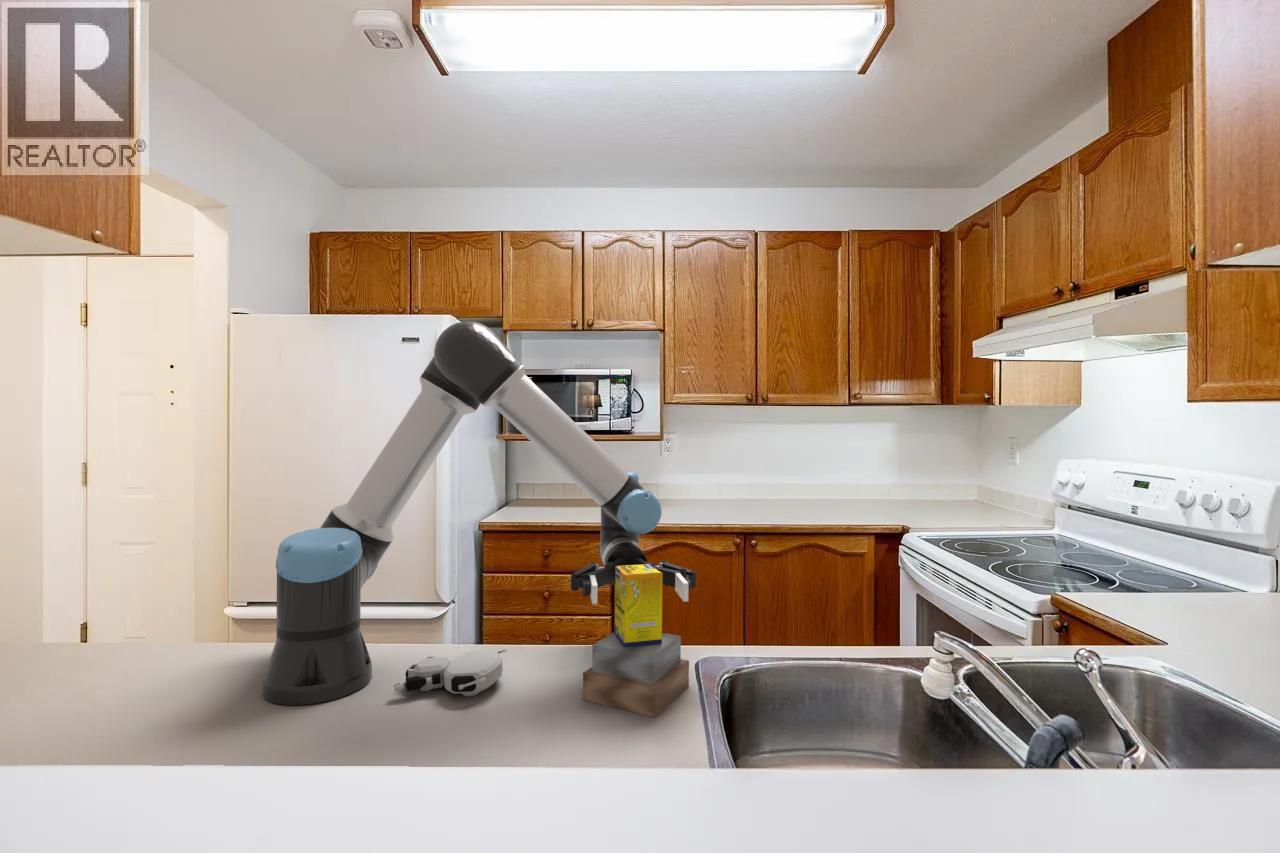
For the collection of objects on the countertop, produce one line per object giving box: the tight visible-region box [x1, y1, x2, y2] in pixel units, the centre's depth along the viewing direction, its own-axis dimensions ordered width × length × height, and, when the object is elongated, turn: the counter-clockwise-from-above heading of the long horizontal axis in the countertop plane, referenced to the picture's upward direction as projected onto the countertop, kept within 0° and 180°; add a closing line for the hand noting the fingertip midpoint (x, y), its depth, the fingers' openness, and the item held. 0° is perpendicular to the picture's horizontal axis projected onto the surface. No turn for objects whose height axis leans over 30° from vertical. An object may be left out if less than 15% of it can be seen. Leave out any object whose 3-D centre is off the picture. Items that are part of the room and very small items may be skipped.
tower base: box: [582, 631, 690, 718], centre depth 95 cm, size 12×12×8 cm
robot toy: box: [393, 648, 508, 697], centre depth 96 cm, size 12×4×15 cm
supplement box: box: [614, 564, 663, 648], centre depth 95 cm, size 6×6×11 cm
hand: (640, 593), depth 91 cm, fingers open, 13 cm apart
